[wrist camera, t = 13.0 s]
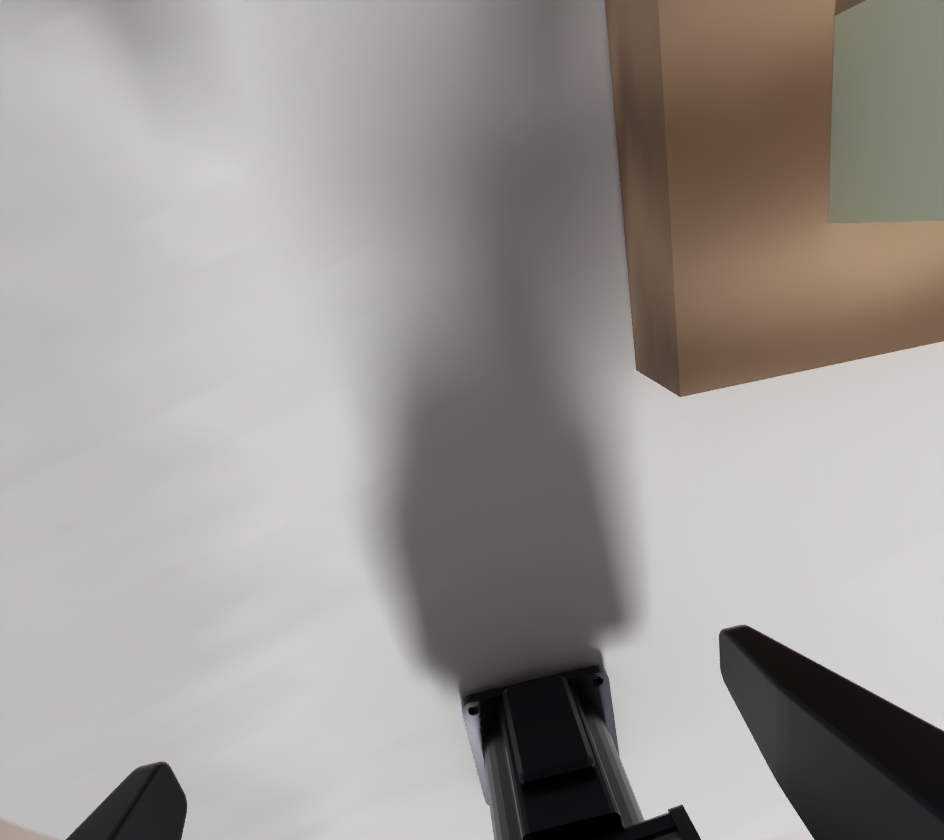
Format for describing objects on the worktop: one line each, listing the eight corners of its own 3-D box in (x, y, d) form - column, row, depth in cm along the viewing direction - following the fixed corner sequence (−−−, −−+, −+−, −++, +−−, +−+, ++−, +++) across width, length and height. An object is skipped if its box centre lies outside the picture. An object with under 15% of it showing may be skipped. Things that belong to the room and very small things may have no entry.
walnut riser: (982, 292, 21) (1107, 306, 17) (630, 366, 20) (680, 397, 17) (1045, -178, 16) (1236, -301, 13) (590, -98, 16) (646, -201, 12)
